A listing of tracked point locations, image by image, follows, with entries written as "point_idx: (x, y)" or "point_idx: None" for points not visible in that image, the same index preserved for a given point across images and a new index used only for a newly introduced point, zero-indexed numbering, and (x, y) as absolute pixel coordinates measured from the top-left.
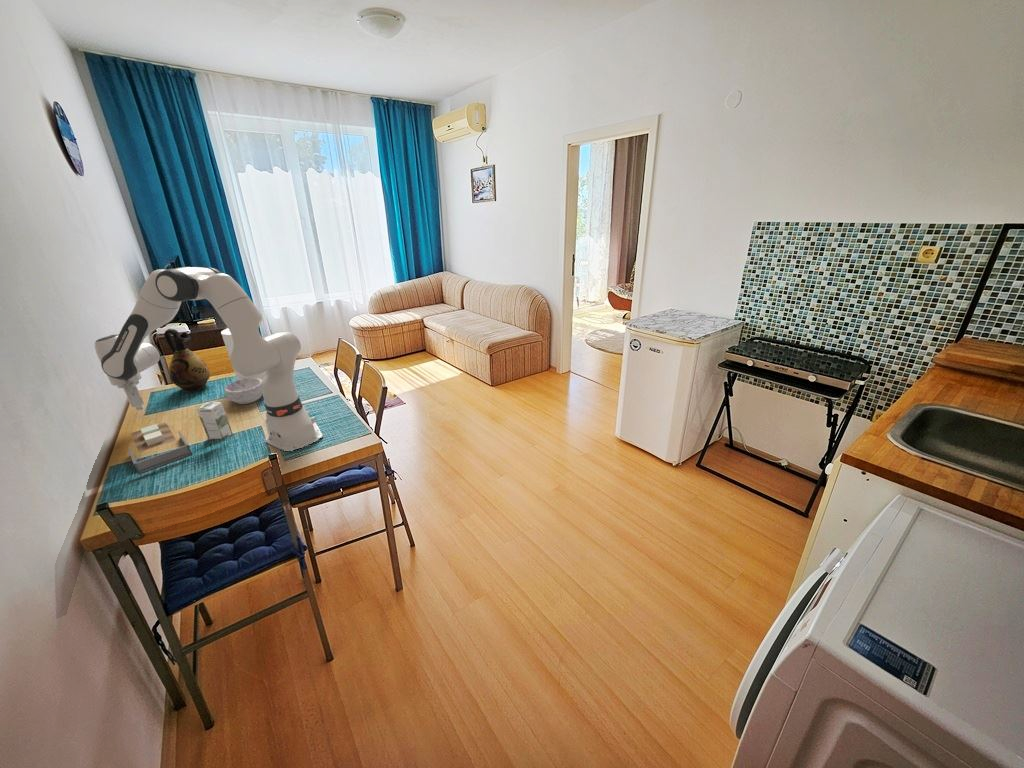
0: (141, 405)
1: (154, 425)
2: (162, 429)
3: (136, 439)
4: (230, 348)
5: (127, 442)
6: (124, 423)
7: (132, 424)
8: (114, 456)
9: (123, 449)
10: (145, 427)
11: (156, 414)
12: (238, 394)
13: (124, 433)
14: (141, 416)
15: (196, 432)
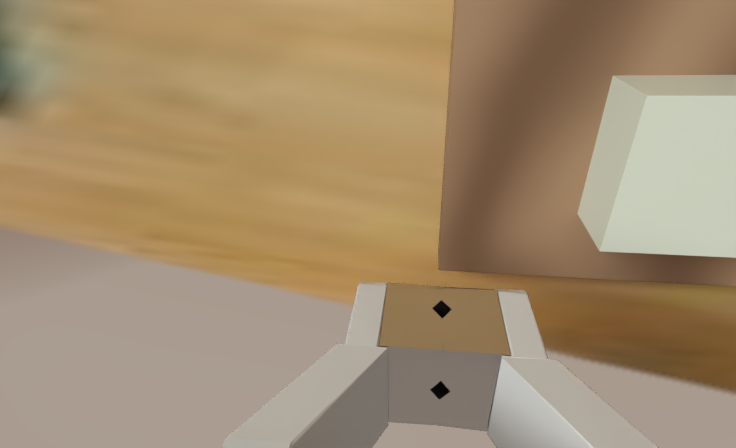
0: (540, 348)
1: (679, 123)
2: (668, 42)
3: (642, 266)
4: None
5: (527, 290)
6: (120, 249)
7: (176, 215)
8: (697, 371)
9: (637, 324)
10: (618, 209)
11: (43, 26)
12: None
13: (323, 277)
14: (32, 141)
15: None
